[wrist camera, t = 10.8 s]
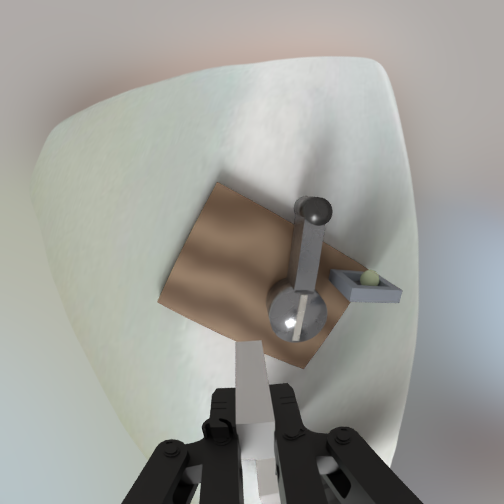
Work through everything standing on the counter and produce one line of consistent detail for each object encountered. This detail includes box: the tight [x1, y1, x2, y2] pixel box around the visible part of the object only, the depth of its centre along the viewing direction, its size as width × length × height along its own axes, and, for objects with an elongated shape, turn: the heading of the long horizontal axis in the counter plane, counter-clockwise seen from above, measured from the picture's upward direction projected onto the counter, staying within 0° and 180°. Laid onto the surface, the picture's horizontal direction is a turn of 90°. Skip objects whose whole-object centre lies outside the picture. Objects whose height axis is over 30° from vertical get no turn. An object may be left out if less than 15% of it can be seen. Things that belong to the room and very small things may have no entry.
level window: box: [329, 269, 402, 303], centre depth 33 cm, size 3×7×8 cm, turn 84°
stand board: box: [157, 182, 369, 369], centre depth 37 cm, size 18×24×2 cm
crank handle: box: [266, 196, 332, 343], centre depth 33 cm, size 18×7×6 cm, turn 173°
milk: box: [256, 458, 281, 504], centre depth 33 cm, size 6×6×22 cm
